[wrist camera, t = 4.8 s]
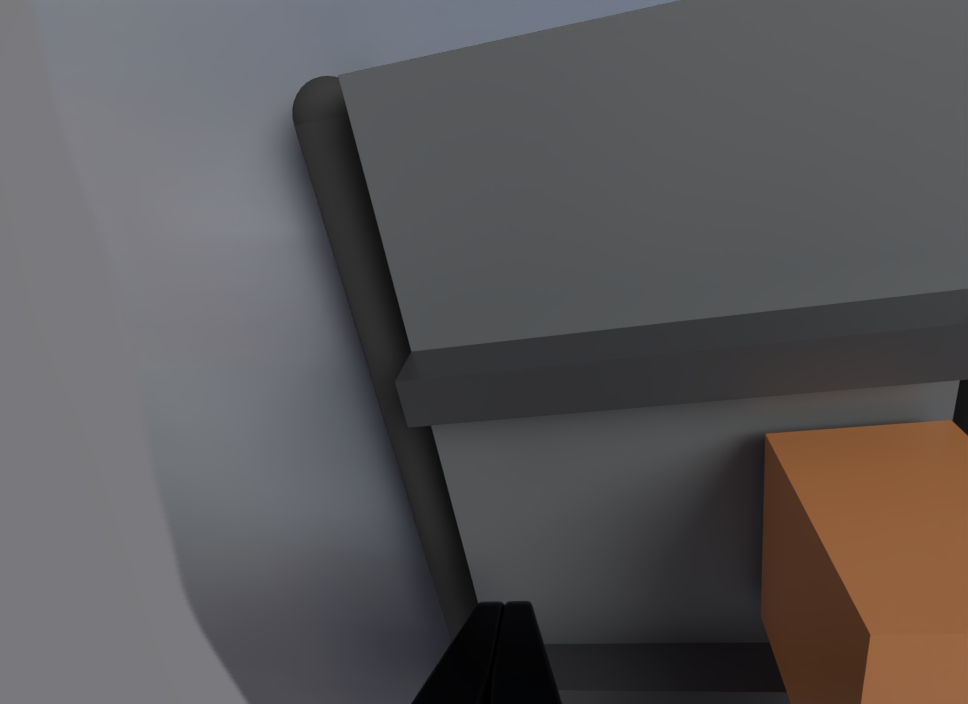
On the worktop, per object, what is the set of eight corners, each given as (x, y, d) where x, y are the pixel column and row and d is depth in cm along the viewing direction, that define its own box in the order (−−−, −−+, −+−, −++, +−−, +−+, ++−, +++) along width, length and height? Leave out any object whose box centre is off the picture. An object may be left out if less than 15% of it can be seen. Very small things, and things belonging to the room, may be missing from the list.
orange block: (914, 614, 10) (1069, 861, 7) (760, 616, 11) (840, 848, 7) (950, 419, 8) (1175, 632, 5) (765, 433, 9) (869, 635, 6)
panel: (843, 715, 15) (902, 858, 12) (532, 710, 16) (525, 836, 14) (938, -48, 8) (1127, -103, 5) (381, 72, 9) (307, 76, 7)
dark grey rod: (523, 701, 16) (519, 746, 15) (481, 700, 16) (475, 745, 15) (368, 68, 9) (342, 69, 8) (300, 83, 10) (267, 86, 9)
